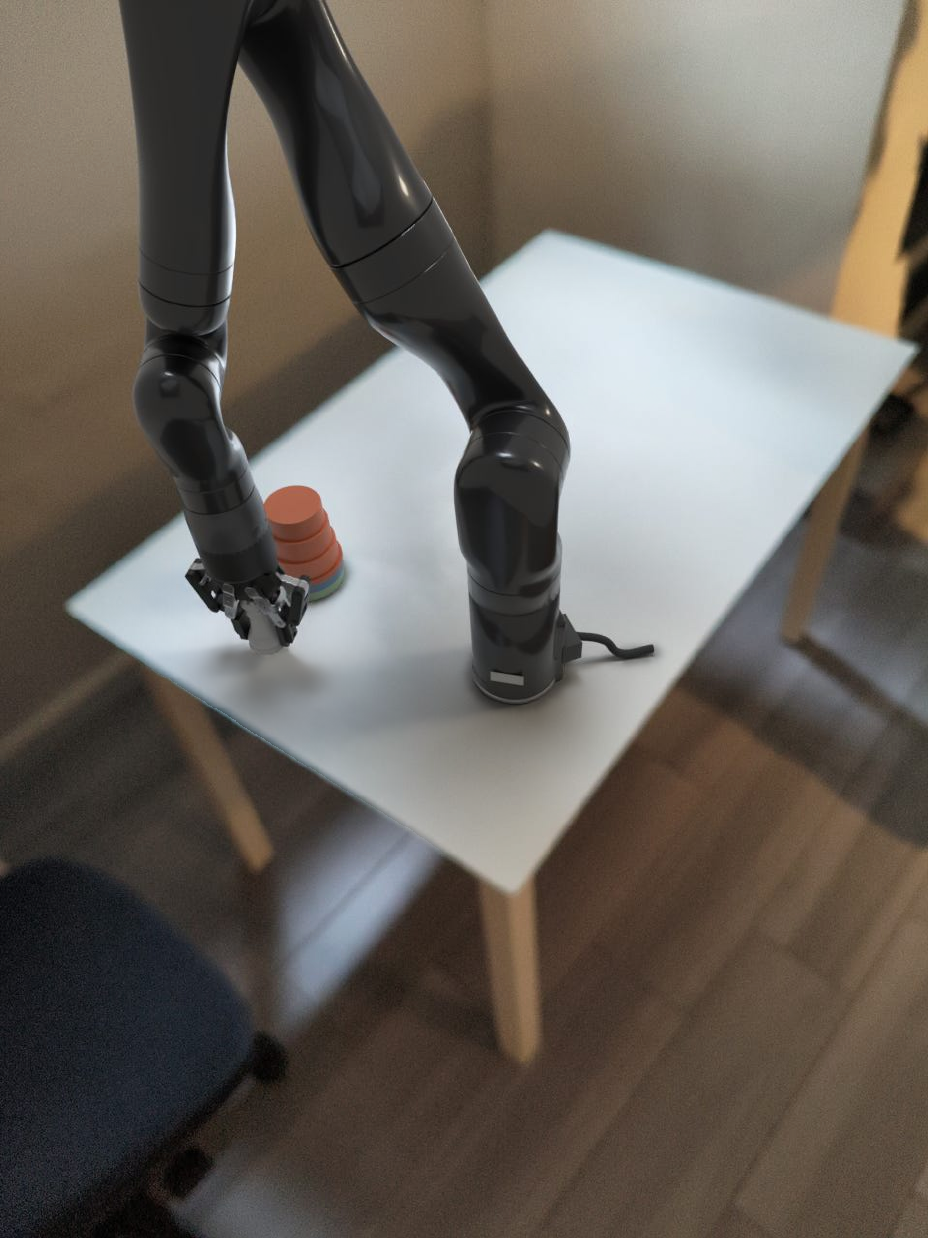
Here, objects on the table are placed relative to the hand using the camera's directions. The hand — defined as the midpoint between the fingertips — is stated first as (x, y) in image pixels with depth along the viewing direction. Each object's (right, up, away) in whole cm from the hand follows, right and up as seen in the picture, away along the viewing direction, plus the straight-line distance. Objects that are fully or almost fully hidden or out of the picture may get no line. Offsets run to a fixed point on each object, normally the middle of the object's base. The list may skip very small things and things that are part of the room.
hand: (267, 637), depth 103 cm
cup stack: (+3, +7, +10) cm, 13 cm away
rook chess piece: (0, -1, +1) cm, 1 cm away
